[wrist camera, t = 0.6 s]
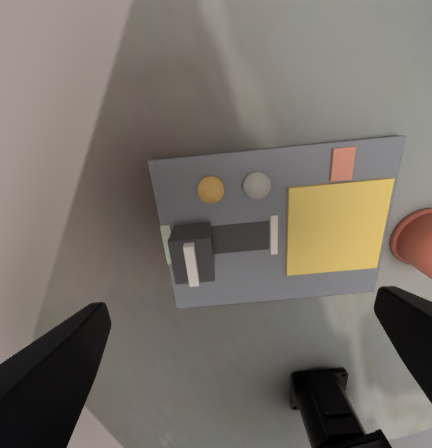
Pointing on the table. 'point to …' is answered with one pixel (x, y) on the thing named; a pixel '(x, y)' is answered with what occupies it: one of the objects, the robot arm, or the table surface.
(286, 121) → the table surface
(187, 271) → the breaker
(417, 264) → the cap
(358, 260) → the panel
